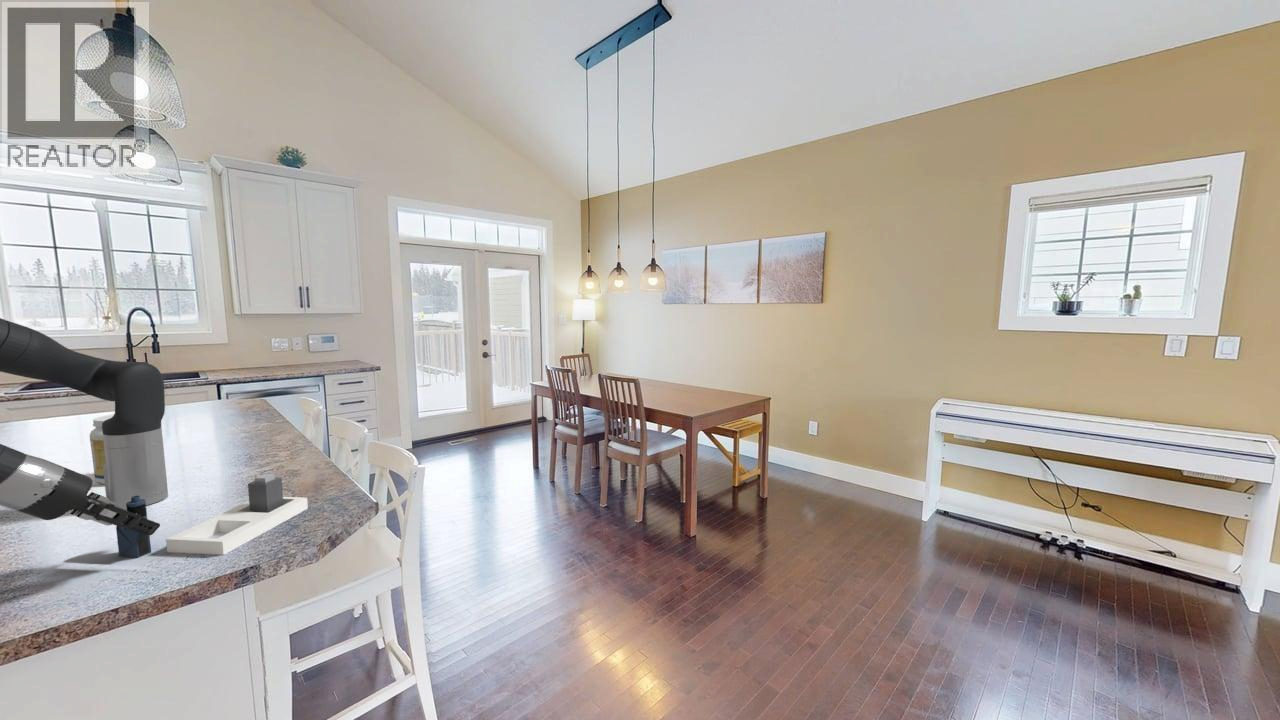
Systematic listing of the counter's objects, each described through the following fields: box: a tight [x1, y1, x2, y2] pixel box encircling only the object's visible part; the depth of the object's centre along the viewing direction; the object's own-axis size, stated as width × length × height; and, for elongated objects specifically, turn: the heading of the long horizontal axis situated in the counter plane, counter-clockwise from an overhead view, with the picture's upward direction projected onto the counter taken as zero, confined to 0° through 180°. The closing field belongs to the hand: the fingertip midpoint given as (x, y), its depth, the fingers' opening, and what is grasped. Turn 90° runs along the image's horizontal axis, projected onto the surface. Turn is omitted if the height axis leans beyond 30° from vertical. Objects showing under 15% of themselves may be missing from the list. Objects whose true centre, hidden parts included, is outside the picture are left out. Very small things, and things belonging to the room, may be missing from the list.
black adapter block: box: [247, 473, 284, 513], centre depth 100 cm, size 4×4×9 cm
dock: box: [165, 496, 309, 556], centre depth 95 cm, size 20×11×4 cm, turn 177°
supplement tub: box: [89, 413, 115, 485], centre depth 123 cm, size 12×12×17 cm
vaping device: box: [115, 496, 152, 559], centre depth 84 cm, size 3×5×12 cm, turn 78°
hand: (147, 526), depth 85 cm, fingers closed on vaping device, 5 cm apart
